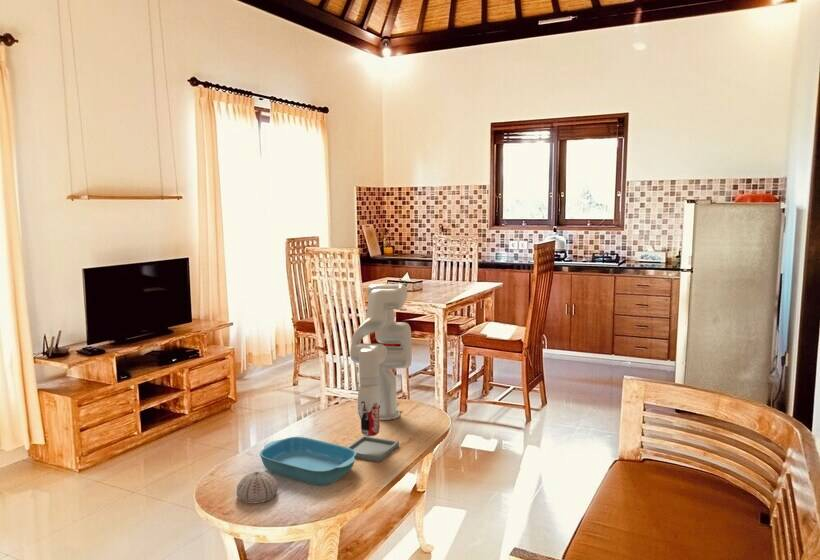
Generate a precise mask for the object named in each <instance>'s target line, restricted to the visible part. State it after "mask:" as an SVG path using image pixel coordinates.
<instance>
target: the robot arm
mask: <svg viewBox="0 0 820 560" xmlns="http://www.w3.org/2000/svg"><path fill="white" fill-rule="evenodd" d="M366 293H367V297H368V299H367V300H368V301H367V306H366V313H365V320H364V321H363V322H362V323H361V324H360V325H359V326H358V327H357V328H355V329H356V330H355V331H354V332H353V335H352V336H351V337H352V338H351V343H350V350H349V351H350V355H349V356H350V359H351V361H352V362H354V363H355V364H356V363H357V364H358V370H359V371H358V373H359V375H358V376H359V377H358V378H359V380H358V381H359V387H358V392H357V393H358V394H357V415H359V418H360V430H361V429H364V430H369V420H368V417H369V412H371V410H372V408H373V406H374V405H376V404H377V405H378V407H379V421H390V420H391V419H393V420H396V419H398V418H399V417H400V416H401V413H400V412H401V411H400V410H398V409H397V408H398V407H399V406H400V402H399V401H397V376H396V375H395V373H394V371H393V370H392V369H408V368H409V367H410V366H411V365H412V360H413V359H412V355H413V354H412V350H413V349H412V330H411V329H412V328H411V326H410V324H409V323H408V322H403V321H400V322H399V321H397V322H396V321H395V311H394V310H400V309H402V308H403V307H404V305H405V303H406V301H407V298H408V289H407V287H406V285H405V284H403V283H375V284H374V283H373V284H370V285H369V286H368V287H367V291H366ZM372 333H375V334H374V335H375V340H376V341H377V343H365V342H364V343H361V341H362V340H363V338H364V337H367V336H368V335H370V334H372ZM384 344H385V345H384ZM386 344H387V345H386ZM388 344H389V345H390V344H392V345H393V344H394V345H395V344H396V345H397V344H399V345H400V346H388ZM364 409H366V410H367V411H364ZM364 413H367V414H366V416H365V414H364Z"/></svg>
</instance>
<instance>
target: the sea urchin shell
mask: <svg viewBox="0 0 820 560" xmlns="http://www.w3.org/2000/svg"><path fill="white" fill-rule="evenodd" d="M278 485H279V483H278V481H277V479H276V478H275V477H274V476H273V475H272V474H270V473H269V472H266V471H261V470H256V471H253V472H251V473H248V474H247V475H245V476H244V477H243V478H242V479H240V481H239V482H238V484H237V486H236V491H235V493H236V496H237V499H238V500H239V501H241V500H242V501H241V502H243V503H245V502H261V503H263V502H266V501H265V500H267V501H269V500H271V499H272V498H274V497H275V495H276V494H277V493H278V490H279V486H278ZM268 499H269V500H268ZM262 501H263V502H262Z"/></svg>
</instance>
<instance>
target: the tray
mask: <svg viewBox="0 0 820 560" xmlns="http://www.w3.org/2000/svg"><path fill="white" fill-rule="evenodd" d="M346 447H347V448H350V449H353V450H355V451H356V453H357V455H356V458H355V459H360V460H366V461H372V462H376V463H380V462H382V461H383V460H384V459H385V458H387V457H389V456H390V455H391V454H392V453H393V452H394V451H395V450H396V449H398V448H399V447H400V441H396V440H391V439H386V438H381V437H375V436H365V435H362V436H361V437H359V438H358V439H356V440H355V441H353V442H352V443H350V444H349V445H348V446H346Z"/></svg>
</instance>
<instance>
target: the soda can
mask: <svg viewBox="0 0 820 560" xmlns="http://www.w3.org/2000/svg"><path fill="white" fill-rule="evenodd" d="M364 411H367V410H366V409H364ZM364 414H365V416H366V414H367V413H364ZM368 420H369V430H364V429H361V428H360V430H361V434H363V436H369V437H375V436H377V435H378V434H379V433H380V420H379V407H378V405H377V404H376V405H374V406H373V408H372V410H371V412H369V417H368Z"/></svg>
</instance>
